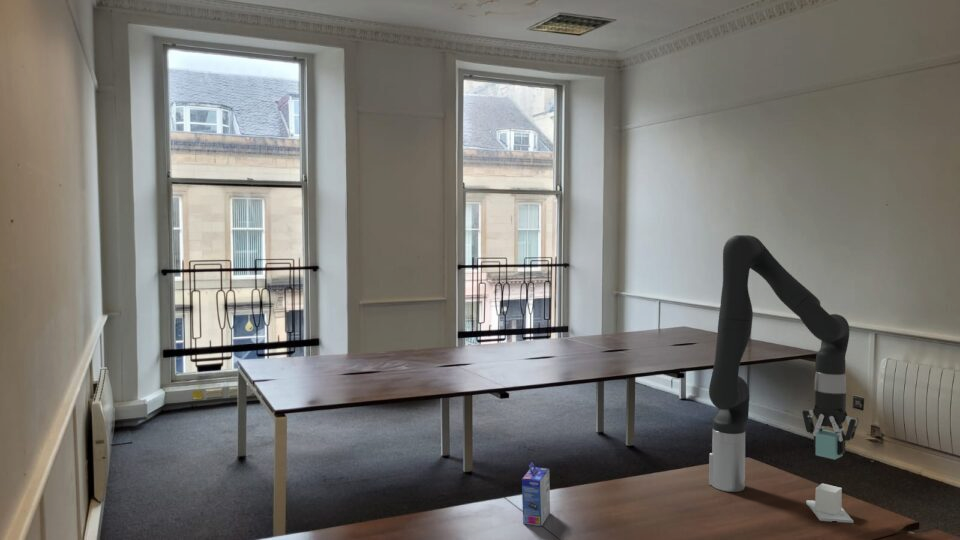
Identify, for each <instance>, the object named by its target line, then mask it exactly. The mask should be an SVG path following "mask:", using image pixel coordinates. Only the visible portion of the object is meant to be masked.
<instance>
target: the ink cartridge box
mask: <svg viewBox="0 0 960 540" xmlns="http://www.w3.org/2000/svg"><path fill="white" fill-rule="evenodd" d="M528 468H529V470H527V472H526V473H525V474H524V476H523V477H522V478H521V496H522V497H521V498H522V499H521V500H522V501H521V502H522V524H523V525H529V526H536V527H542V526H543V524H544V523H545V521H546V519H547V518H548V517H549V515H550V513H551V497H550V494H551V490H550V488H551V487H550V484H551V483H550V468H547V467H538V466H535V464H534V463H533V461H531V462H530V464H529V465H528Z"/></svg>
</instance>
